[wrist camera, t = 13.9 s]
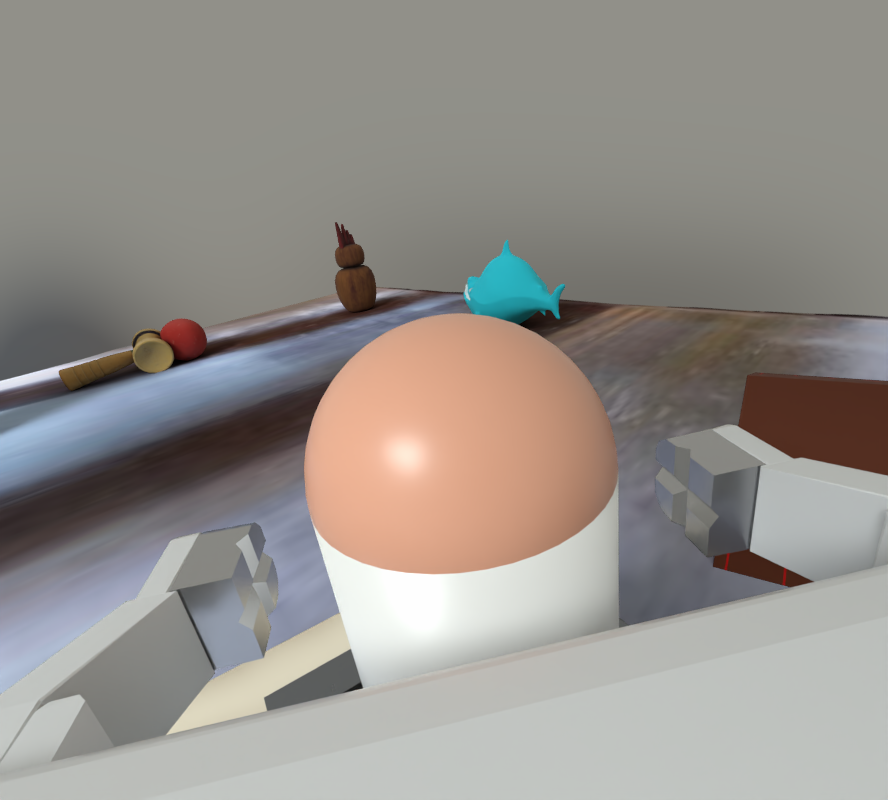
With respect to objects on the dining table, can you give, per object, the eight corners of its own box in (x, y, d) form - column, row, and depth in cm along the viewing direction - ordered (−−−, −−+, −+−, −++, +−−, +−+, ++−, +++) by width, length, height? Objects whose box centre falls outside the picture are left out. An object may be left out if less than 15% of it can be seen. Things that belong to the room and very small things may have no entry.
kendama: (74, 408, 61) (216, 350, 68) (45, 362, 59) (193, 308, 66) (85, 402, 68) (212, 350, 75) (58, 361, 66) (192, 311, 73)
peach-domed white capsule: (375, 854, 13) (197, 359, 7) (488, 694, 16) (422, 283, 11) (558, 1054, 9) (475, 416, 4) (650, 798, 13) (669, 281, 8)
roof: (754, 377, 39) (761, 318, 37) (952, 391, 33) (972, 321, 31) (711, 577, 21) (720, 484, 19) (1127, 692, 15) (1199, 570, 13)
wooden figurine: (354, 315, 82) (334, 222, 76) (336, 313, 86) (316, 225, 80) (385, 305, 86) (369, 216, 80) (367, 304, 90) (349, 219, 84)
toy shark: (500, 311, 70) (492, 234, 66) (598, 329, 55) (596, 231, 51) (443, 328, 65) (431, 247, 61) (533, 353, 51) (525, 247, 47)
